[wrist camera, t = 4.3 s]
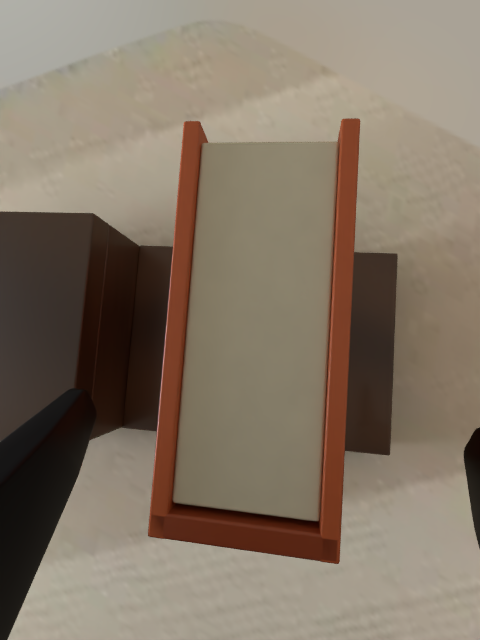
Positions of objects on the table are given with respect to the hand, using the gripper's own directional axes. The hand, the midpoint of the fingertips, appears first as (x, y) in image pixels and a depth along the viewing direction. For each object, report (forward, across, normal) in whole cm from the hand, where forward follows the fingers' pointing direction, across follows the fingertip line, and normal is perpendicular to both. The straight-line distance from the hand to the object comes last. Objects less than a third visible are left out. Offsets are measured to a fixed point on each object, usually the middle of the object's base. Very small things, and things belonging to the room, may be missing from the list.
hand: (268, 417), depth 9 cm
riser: (+8, +4, +5) cm, 10 cm away
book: (+6, 0, +4) cm, 7 cm away
